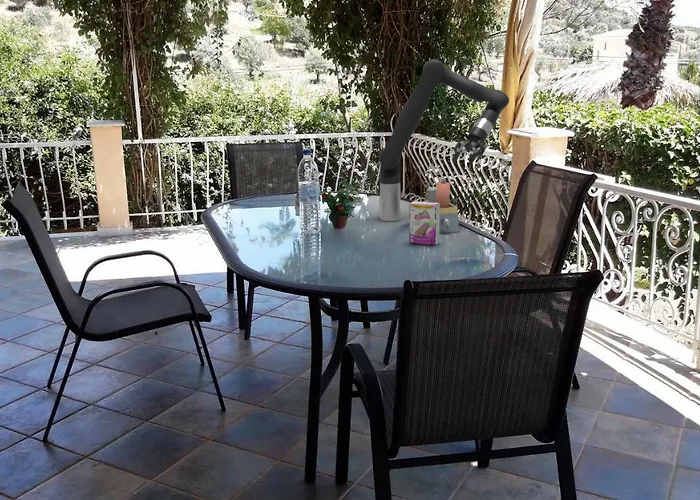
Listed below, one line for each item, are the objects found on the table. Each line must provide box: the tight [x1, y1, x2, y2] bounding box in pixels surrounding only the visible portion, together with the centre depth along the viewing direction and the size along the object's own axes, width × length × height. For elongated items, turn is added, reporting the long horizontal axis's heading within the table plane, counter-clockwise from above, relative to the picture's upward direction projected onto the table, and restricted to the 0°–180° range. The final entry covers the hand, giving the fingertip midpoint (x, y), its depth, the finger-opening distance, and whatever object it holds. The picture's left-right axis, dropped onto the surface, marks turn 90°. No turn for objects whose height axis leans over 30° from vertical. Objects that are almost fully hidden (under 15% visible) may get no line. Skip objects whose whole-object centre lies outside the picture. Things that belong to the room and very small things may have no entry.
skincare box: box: [427, 186, 437, 203], centre depth 291 cm, size 8×7×16 cm
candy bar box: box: [408, 200, 440, 247], centre depth 257 cm, size 11×5×16 cm, turn 65°
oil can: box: [436, 177, 451, 208], centre depth 276 cm, size 6×6×14 cm
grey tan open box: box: [439, 201, 460, 234], centre depth 278 cm, size 11×16×10 cm
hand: (461, 161), depth 274 cm, fingers open, 8 cm apart
